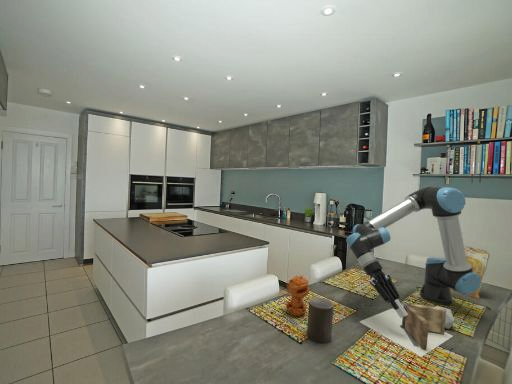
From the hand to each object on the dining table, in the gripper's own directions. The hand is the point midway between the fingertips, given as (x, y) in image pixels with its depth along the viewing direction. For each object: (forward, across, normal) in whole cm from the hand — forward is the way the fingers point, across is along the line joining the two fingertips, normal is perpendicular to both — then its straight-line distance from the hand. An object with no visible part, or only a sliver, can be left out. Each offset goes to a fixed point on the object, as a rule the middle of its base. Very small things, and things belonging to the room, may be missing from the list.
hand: (404, 316), depth 106 cm
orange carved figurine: (-19, +26, -31) cm, 45 cm away
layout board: (+4, -6, -8) cm, 11 cm away
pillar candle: (-6, +31, -18) cm, 36 cm away
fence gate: (+8, -2, -3) cm, 9 cm away
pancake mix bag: (+2, -82, -11) cm, 83 cm away
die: (+10, -25, -4) cm, 27 cm away
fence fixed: (+7, -12, -4) cm, 15 cm away
